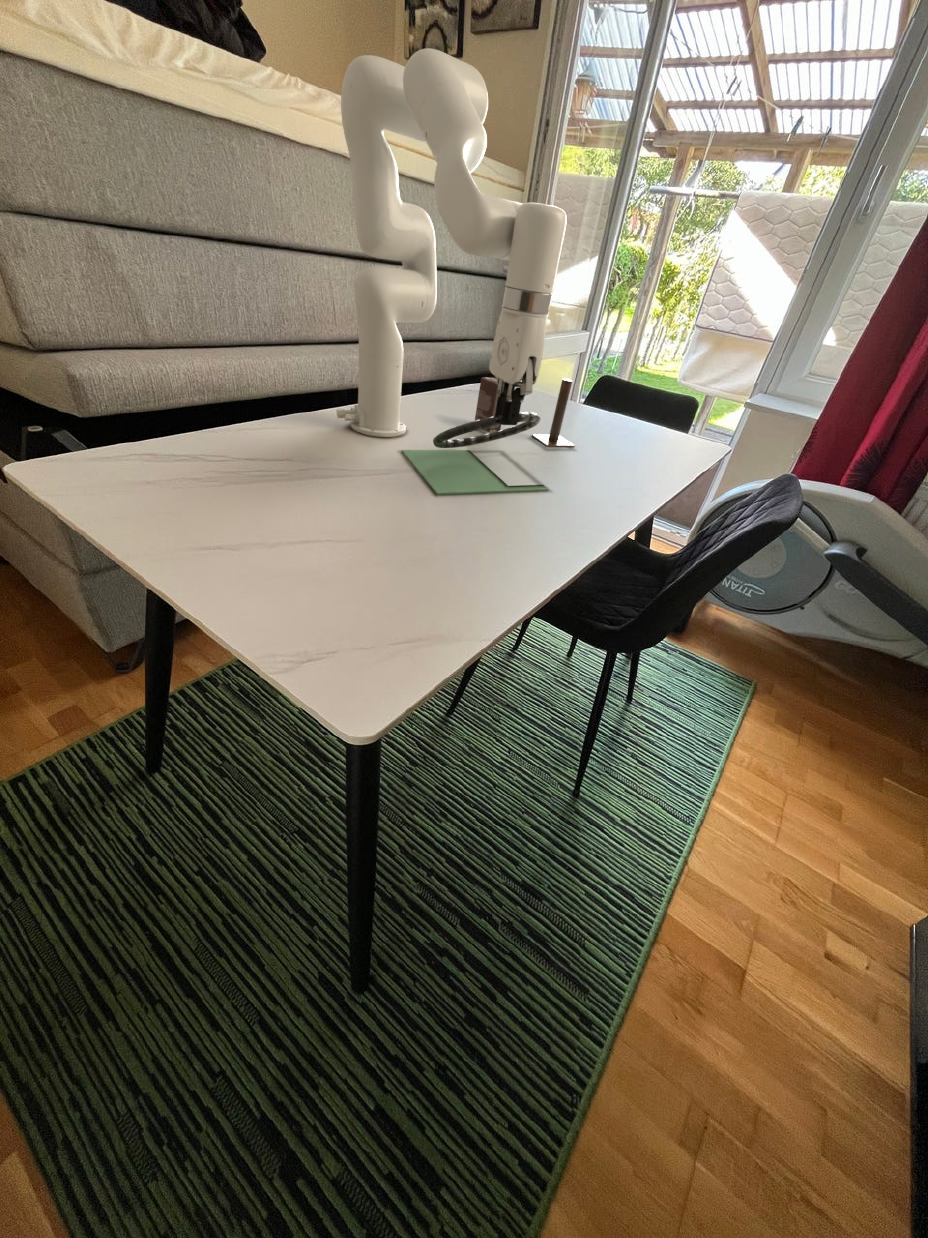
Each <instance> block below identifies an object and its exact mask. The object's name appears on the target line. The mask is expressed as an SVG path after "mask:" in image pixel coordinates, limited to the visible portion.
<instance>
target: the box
mask: <svg viewBox="0 0 928 1238" xmlns="http://www.w3.org/2000/svg"><path fill="white" fill-rule="evenodd" d="M497 391H498V381H497V379H496V377H481V378H480V384H479V390H478V397H477V403H476V410H475V416H474V421H477V420H481V419H485V418H490V417H494V416H495V412H496V406H497V400H498V397H500V396H498V395H497ZM482 430H483V431H485V432H487V433H493V432H497V431H500V430H502V425H498V426H493V427H489V428H484V429H482Z"/></svg>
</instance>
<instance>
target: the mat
mask: <svg viewBox="0 0 928 1238" xmlns="http://www.w3.org/2000/svg"><path fill="white" fill-rule="evenodd" d="M401 453H402V454H403V455H404V457H405V458H406V459H407V460H408V461H409V463H410V464H411V465H412V466H413V467H414V469H415V471H417V472H418V474H419V475H420V476H421V477H422V478H423V480H424V481H425V482H426V483H427V484H428V486H429V487H430V489H432V490H433V492H434V493H435V494H436V495H437V496H447V495H475V494H476V495H477V494H500V493H504V494H505V493H529V492H530V493H531V492H549V488H548V487H547V486H545V485H544V484H523V485H522V484H521V485H520V484H519V485H508V484H507V483H506V482H505V481H504V480H503V479H501V477H499V476H498V475H497V474H496V473H495V472H494V471H493V470H492V469H491V468H489V466H488V465H487V464H485V463H484V462H483V461H482V460H481V459H480V458H479V457H477V456H476V455H475V454H474V453H473V452H472V451H471V450H470V449H469V450H468V449H427V450H426V449H424V450H423V449H413V450H412V449H404V450H403V449H402V450H401Z"/></svg>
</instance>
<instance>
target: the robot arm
mask: <svg viewBox="0 0 928 1238" xmlns="http://www.w3.org/2000/svg"><path fill="white" fill-rule="evenodd" d="M340 93H341V94H340V113H341V122H342V123H341V124H342V128H343V133H344V138H345V142H346V146H347V151H348V155H349V160H350V164H351V166H350V167H351V173H352V189H353V200H354V211H355V213H354V214H355V223H356V232H357V240H358V243H359V246H360V248H361V250H362V252H364V253H365V254H366V255H367V256H370V257H373V258H376V259H381V260H382V259H383V260H388V261H398V262H401V264H402V268H398V267H392V266H383V265H374V266H367V267H366V268H364V269H362V270H361V271H360V272H359V273H358V274H357V277H356V278H355V282H354V302H355V306H356V307H355V308H356V314H357V322H358V323H357V324H358V379H357V380H358V384H357V385H358V386H357V387H358V389H357V390H358V391H357V392H358V393H357V404H354V407H350V409H345V408H336V418H337V419H344V421H350V428H352V430H354V431H355V432H358V434H359V433H360V434H363V435H366V436H371V437H376V438H377V437H378V438H394V437H399V436H402V435H404V434H405V433H406V431H407V429H406V427H407V426H406V424H404V422H402V421H400V419H401V417H400V416H401V401H402V387H403V386H402V385H403V371H404V370H403V369H404V352H405V350H404V349H405V348H404V342H403V338H402V336H401V333H400V331H399V329H398V327H397V324H398V323H399V324H400V323H406V324H407V323H408V324H409V323H411V324H420V323H425V322H427V321H429V320H430V318H432V316H433V315H434V312H435V309H436V305H437V295H438V290H437V289H438V288H437V287H438V286H437V285H438V284H437V251H436V250H437V249H436V247H437V246H436V245H437V244H436V233H435V228H434V225H433V221H432V219H431V217H430V215H429V214H428V212H427V211H426V210H425V209H424V208H423V207H421V206H420V205H417V204H413V203H409V202H404V201H403V200H402V199H401V194H400V186H399V171H398V165H397V161H396V159H395V155H394V153H393V151H392V148H391V146H390V144H389V142H388V140H387V139H386V137H385V134H384V132H385V131H389V132H392V133H394V134H397V135H400V136H404V137H407V138H410V139H413V140H417V141H421V142H426V144H427V146H428V148H429V151H430V152H431V154H432V156H433V158H434V160H435V163H436V166H435V172H434V180H433V181H434V183H433V184H434V186H433V187H434V200H435V206H436V209H437V212H438V214H439V217H440V218H441V220H442V222H443V224H444V226H445V229H446V230H447V232H448V234H449V236H450V237H451V239H452V240H453V242H454V243H455V245H456V246H457V247H458V248H459V249H460V250H461V251H463V252H464V253H466V254H468V255H472V256H476V257H485V258H490V259H494V260H500V261H502V260H503V261H508V265H507V271H506V280H505V284H504V286H505V287H504V292H503V298H502V305H501V310H500V314H499V317H498V320H497V323H496V328H495V332H494V337H493V342H492V347H491V352H490V358H489V364H488V370H489V372H490V373H491V374H492V375H493V376H494V378H495V379H497V381H498V391H497V395H498V396H500V397H498V400H497V406H496V412H495V416H499V415H501V421H500V423H501V424H502V425H501V426H516V425H518V423H519V422H518V418H519V413H521V407H522V403H524V400H525V397H526V396H528V395H531V394H532V393H533V387H534V385H535V384H536V383H537V381H538V379H539V375H540V371H541V365H542V361H543V355H544V348H545V341H546V331H547V319H548V318H549V315H550V314H549V313H550V308H551V305H552V304H551V303H552V299H553V293H554V288H555V282H556V278H557V273H558V268H559V264H560V258H561V254H562V248H563V243H564V237H565V233H566V229H567V228H566V227H567V222H568V221H567V220H568V219H567V213H566V211H564V209H562V208H560V207H558V206H556V205H551V204H545V203H539V202H525V203H522V202H518V201H513V200H510V199H507V198H503V197H499V196H495V195H492V194H488V193H483V192H481V191H480V189H479V188H478V186H477V184H476V181H475V180H474V178H473V177H472V173H473V172H474V171H475V170H476V169H477V168H478V167H479V165H480V164H481V162H482V160H483V158H484V156H485V153H486V149H487V145H488V138H487V137H488V136H487V132H486V129H485V127H484V122H485V120H486V117H487V113H488V109H489V94H488V89H487V85H486V81H485V79H484V77H483V75H482V74H481V73H480V72H479V70H478V68H476V67H475V66H473V65H471V64H470V63H468V62H465V61H463V60H461V59H458V58H456V57H455V56H452V55H450V54H448V53H446V52H443V51H441V50H439V49H437V48H431V47H430V48H429V47H426V48H422V49H419V50H417V51H416V52H414V53H413V54H411V56H410V57H409V59H408V60H407V62H406V64H405V66H404V65H402V64H399V63H397V62H395V61H392V60H390V59H387V58H385V57H381V56H377V55H372V54H363V55H359V56H357V57H355V58H354V59H353V60H351V61H350V62H349V65H348V66H347V68H346V71H345V73H344V76H343V81H342V86H341V92H340Z"/></svg>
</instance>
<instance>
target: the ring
mask: <svg viewBox="0 0 928 1238" xmlns="http://www.w3.org/2000/svg"><path fill="white" fill-rule="evenodd" d="M500 421H501V415H499V416H494V417H490V418H485V419H481V420H477V421H475V420H474V421H470V422H467V423H463V424H460V425H457V426H454V427H451V428H449V429H447V430H444V431H442V432H440V433H438V434H437V435H436V436H435V437H433V440H432V442H433V446H434V447H436V448H439V449H455V448H462V447H469V446H474V445H480V444H484V443H489V442H493V441H497V440H500V439H505V438H508V437H511V436H514V435H518V434H521V433H523V432H526V431H529V430H530V429H532V428H534V427H536V426H537V425H538V424H539V423H540V422H541V416H540V415H539V414H538V413H537V412H530V411H525V412H520V413H519V418H518V423H519V424H517V425H512V426H510V427H507V428H505V429H501V430H500V431H494V432H488V433H485V434H480V435H475V436H470V437H463V438H456V437H459V436H462V435H466V434H469V433H472V432H476V431H480V430H483V429H484V428H489V427H493V426H498V425H501V426H503V425H502V424H501V423H500ZM453 438H456V439H453Z"/></svg>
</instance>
